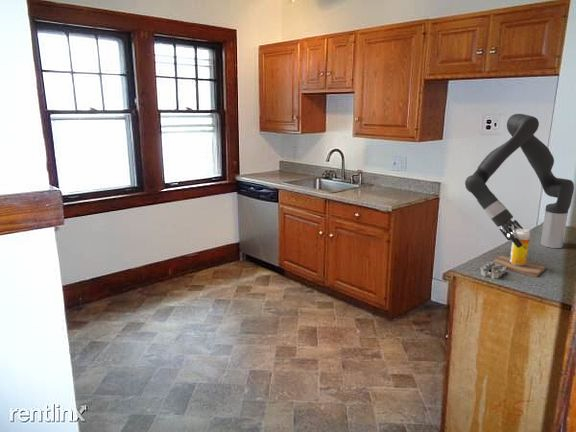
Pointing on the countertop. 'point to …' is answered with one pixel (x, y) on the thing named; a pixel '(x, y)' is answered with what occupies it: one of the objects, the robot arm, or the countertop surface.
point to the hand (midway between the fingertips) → (524, 244)
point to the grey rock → (495, 272)
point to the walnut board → (526, 269)
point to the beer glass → (520, 253)
